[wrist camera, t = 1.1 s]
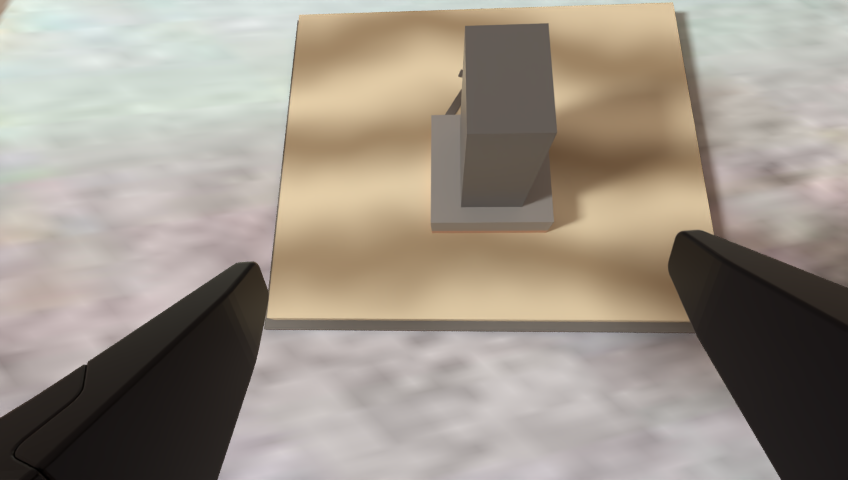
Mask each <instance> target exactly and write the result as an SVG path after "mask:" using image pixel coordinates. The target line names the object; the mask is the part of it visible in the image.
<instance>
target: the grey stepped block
mask: <svg viewBox="0 0 848 480" xmlns="http://www.w3.org/2000/svg"><path fill="white" fill-rule="evenodd" d="M556 134H557V123H556V111H555V98H554V86H553V73H552V61H551V48H550V36H549V23H539V24H507V25H475V26H465V36H464V56H463V76H462V96H461V115H431V230H432V233H546V232H547V231H548V229H549V228H550V227H551V225H552V224H553V223H554V215H553V201H552V188H551V174H550V160H549V149H550V147H551V145H552V143H553V140H554V138H555V136H556Z"/></svg>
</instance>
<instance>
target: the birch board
mask: <svg viewBox="0 0 848 480" xmlns="http://www.w3.org/2000/svg"><path fill="white" fill-rule="evenodd" d="M539 23H549V36H550V48H551V61H552V73H553V86H554V98H555V111H556V123H557V134H556V136H555V138H554V140H553V143H552V145H551V147H550V149H549V160H550V174H551V188H552V201H553V215H554V223H553V224H552V225H551V227H550V228H549V229H548V231H547V232H546V233H432V230H431V115H461V96H462V76H463V56H464V36H465V26H475V25H507V24H539ZM686 230H702V231H705V232H708V233H710V234H713V235H714V233H713V227H712V221H711V216H710V210H709V204H708V199H707V193H706V187H705V181H704V176H703V170H702V164H701V159H700V153H699V147H698V142H697V136H696V130H695V125H694V119H693V113H692V108H691V102H690V96H689V91H688V85H687V79H686V74H685V68H684V62H683V56H682V51H681V45H680V39H679V34H678V28H677V22H676V17H675V11H674V5H673V3H646V4H615V5H585V6H555V7H525V8H494V9H464V10H434V11H403V12H373V13H343V14H312V15H299V21H298V22H297V31H296V41H295V50H294V59H293V68H292V77H291V87H290V96H289V105H288V114H287V123H286V133H285V142H284V151H283V160H282V169H281V179H280V188H279V197H278V206H277V216H276V225H275V234H274V243H273V252H272V262H271V271H270V280H269V289H268V294H269V300H268V306H267V311H266V317H265V326H264V329H266V330H378V331H507V332H635V333H695V331H694V329H693V327H692V325H691V323H690V320H689V318H688V316H687V314H686V311H685V309H684V307H683V305H682V302H681V300H680V298H679V295H678V293H677V291H676V289H675V286H674V284H673V282H672V280H671V277H670V275H669V272H668V261H669V257H670V254H671V250H672V247H673V243H674V240H675V237H676V235H677V234H678V233H679V232H680V231H686Z"/></svg>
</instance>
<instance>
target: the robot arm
mask: <svg viewBox="0 0 848 480" xmlns="http://www.w3.org/2000/svg"><path fill="white" fill-rule="evenodd" d="M668 272H669V275H670V277H671V280H672V282H673V284H674V286H675V289H676V291H677V293H678V295H679V298H680V300H681V302H682V305H683V307H684V309H685V311H686V314H687V316H688V318H689V320H690V323H691V325H692V327H693V329H694V331H695V333H696V335H697V337H698V339H699V340H700V342H701V344H702V346H703V347H704V349H705V351H706V353H707V354H708V356H709V358H710V359H711V361H712V363H713V364H714V366H715V368H716V370H717V371H718V373H719V375H720V376H721V378H722V380H723V382H724V383H725V385H726V387H727V388H728V390H729V392H730V393H731V395H732V397H733V399H734V400H735V402H736V404H737V405H738V407H739V409H740V411H741V412H742V414H743V416H744V417H745V419H746V421H747V422H748V424H749V426H750V428H751V429H752V431H753V433H754V434H755V436H756V438H757V440H758V441H759V443H760V445H761V446H762V448H763V450H764V451H765V453H766V455H767V457H768V458H769V460H770V462H771V463H772V465H773V467H774V469H775V470H776V472H777V474H778V475H779V477H780V479H781V480H848V288H847V287H844V286H842V285H839V284H837V283H834V282H832V281H829V280H826V279H824V278H821V277H819V276H816V275H814V274H811V273H809V272H806V271H804V270H801V269H799V268H796V267H794V266H791V265H789V264H786V263H783V262H781V261H778V260H776V259H773V258H771V257H768V256H766V255H763V254H761V253H758V252H756V251H753V250H751V249H748V248H746V247H743V246H740V245H738V244H735V243H733V242H730V241H728V240H725V239H723V238H720V237H718V236H715V235H713V234H710V233H708V232H705V231H702V230H686V231H680V232H679V233H678V234H677V235H676V237H675V240H674V243H673V247H672V250H671V254H670V257H669V261H668ZM268 300H269V294H268V289H267V286H266V284H265V281H264V278H263V275H262V273H261V270H260V267H259V265H258V264H257V263H256V262H238V263H236V264H234V265H232V266H231V267H229V268H228V269H226V270H225V271H223V272H222V273H220V274H219V275H217V276H216V277H214V278H213V279H211V280H210V281H208V282H207V283H205V284H204V285H202V286H201V287H199V288H198V289H196V290H195V291H193V292H192V293H190V294H189V295H187V296H186V297H184V298H183V299H181V300H180V301H178V302H177V303H175V304H174V305H172V306H171V307H169V308H168V309H166V310H165V311H163V312H162V313H160V314H159V315H157V316H156V317H154V318H153V319H151V320H150V321H148V322H147V323H145V324H144V325H142V326H141V327H139V328H138V329H136V330H135V331H133V332H132V333H130V334H129V335H127V336H126V337H124V338H123V339H121V340H120V341H118V342H117V343H115V344H114V345H112V346H111V347H109V348H108V349H106V350H105V351H103V352H102V353H100V354H99V355H97V356H96V357H94V358H93V359H91V360H90V361H88V363H87V365H82V366H81V367H79V368H78V369H76V370H75V371H73V372H72V373H70V374H69V375H67V376H66V377H64V378H63V379H61V380H60V381H58V382H57V383H55V384H53V385H52V386H50V387H49V388H47V389H46V390H44V391H43V392H41V393H40V394H38V395H36V396H35V397H33V398H32V399H30V400H29V401H27V402H25V403H24V404H22V405H20V406H19V407H17V408H15V409H14V410H12V411H11V412H9V413H7V414H6V415H4V416H2V417H1V418H0V480H217V479H218V476H219V473H220V470H221V467H222V464H223V461H224V458H225V455H226V452H227V449H228V446H229V443H230V440H231V437H232V434H233V431H234V428H235V425H236V422H237V419H238V416H239V412H240V409H241V406H242V403H243V400H244V397H245V394H246V391H247V388H248V385H249V382H250V379H251V376H252V373H253V370H254V366H255V363H256V359H257V355H258V351H259V346H260V341H261V336H262V331H263V326H264V321H265V316H266V311H267V306H268Z"/></svg>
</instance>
